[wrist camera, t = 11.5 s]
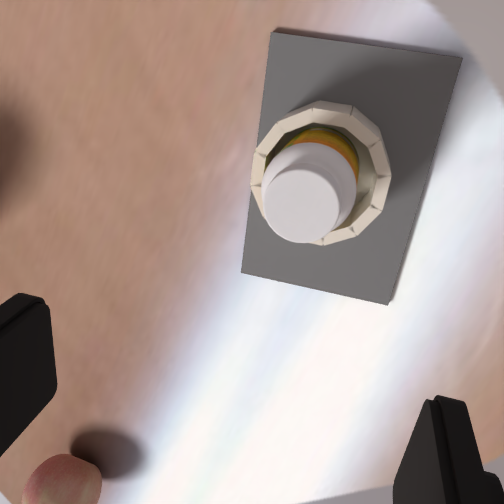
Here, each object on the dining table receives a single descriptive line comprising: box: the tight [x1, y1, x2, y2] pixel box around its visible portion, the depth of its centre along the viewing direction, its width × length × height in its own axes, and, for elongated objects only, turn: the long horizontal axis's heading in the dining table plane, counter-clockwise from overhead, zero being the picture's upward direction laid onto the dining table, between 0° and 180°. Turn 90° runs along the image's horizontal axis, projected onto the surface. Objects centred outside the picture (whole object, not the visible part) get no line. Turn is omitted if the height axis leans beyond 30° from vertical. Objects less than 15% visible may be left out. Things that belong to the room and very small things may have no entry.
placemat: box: [241, 32, 463, 305], centre depth 33 cm, size 18×12×1 cm, turn 173°
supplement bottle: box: [261, 126, 359, 243], centre depth 27 cm, size 5×5×10 cm
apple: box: [22, 454, 102, 504], centre depth 50 cm, size 8×8×8 cm
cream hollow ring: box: [250, 100, 392, 246], centre depth 30 cm, size 9×9×4 cm
